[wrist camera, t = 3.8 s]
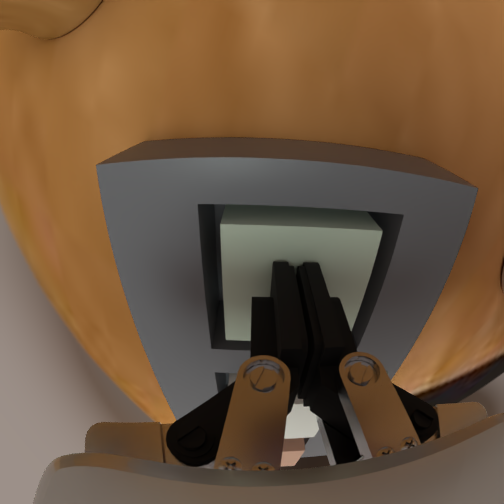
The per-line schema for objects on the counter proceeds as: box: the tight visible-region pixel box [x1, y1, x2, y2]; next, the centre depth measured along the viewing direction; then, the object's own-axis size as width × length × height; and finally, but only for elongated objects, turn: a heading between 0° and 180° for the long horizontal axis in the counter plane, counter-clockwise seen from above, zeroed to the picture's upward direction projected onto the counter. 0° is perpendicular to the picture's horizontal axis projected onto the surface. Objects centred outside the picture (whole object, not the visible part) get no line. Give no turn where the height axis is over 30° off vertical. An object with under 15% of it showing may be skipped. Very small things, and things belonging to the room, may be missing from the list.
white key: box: [228, 373, 319, 439], centre depth 15 cm, size 6×6×3 cm
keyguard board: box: [96, 137, 478, 457], centre depth 17 cm, size 14×28×5 cm, turn 179°
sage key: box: [220, 204, 383, 341], centre depth 12 cm, size 6×6×3 cm
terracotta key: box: [281, 438, 305, 466], centre depth 20 cm, size 6×6×3 cm
